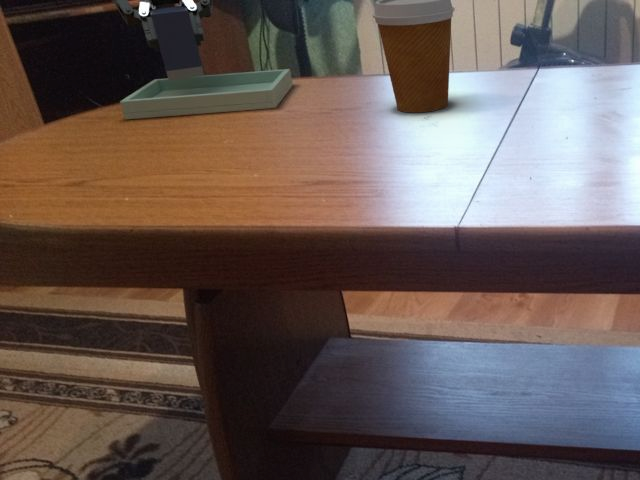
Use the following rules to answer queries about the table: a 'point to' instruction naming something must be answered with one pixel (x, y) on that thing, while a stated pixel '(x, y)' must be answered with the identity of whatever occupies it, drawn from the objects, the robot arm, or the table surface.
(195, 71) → the eraser
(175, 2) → the robot arm
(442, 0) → the disposable coffee cup
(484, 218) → the table surface
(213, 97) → the tray
